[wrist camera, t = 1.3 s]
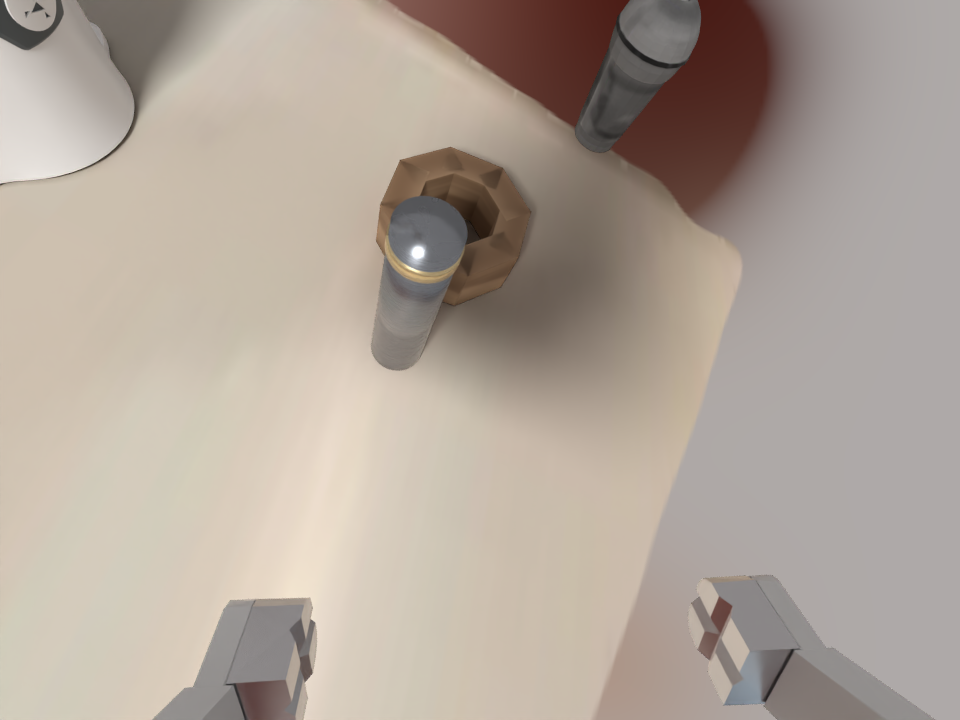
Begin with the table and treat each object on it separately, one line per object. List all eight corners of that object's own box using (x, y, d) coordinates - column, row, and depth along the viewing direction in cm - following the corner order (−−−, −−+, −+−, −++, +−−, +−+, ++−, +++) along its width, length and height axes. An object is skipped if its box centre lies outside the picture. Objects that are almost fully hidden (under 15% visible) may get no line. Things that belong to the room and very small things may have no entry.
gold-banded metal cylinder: (362, 361, 39) (376, 245, 25) (380, 315, 41) (403, 183, 27) (414, 378, 40) (457, 275, 25) (429, 333, 42) (478, 212, 27)
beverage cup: (575, 99, 56) (687, -119, 38) (632, 131, 57) (769, -69, 39) (553, 140, 53) (664, -76, 35) (613, 174, 54) (753, -22, 36)
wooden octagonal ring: (362, 272, 42) (365, 237, 38) (405, 172, 47) (412, 131, 42) (491, 319, 44) (509, 291, 39) (520, 217, 48) (539, 182, 44)
